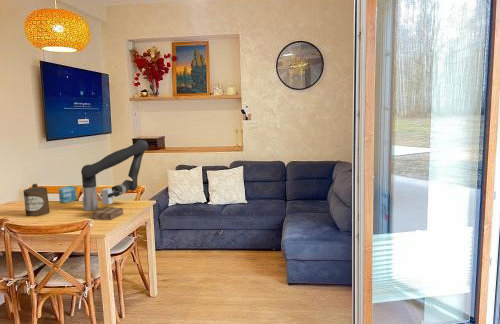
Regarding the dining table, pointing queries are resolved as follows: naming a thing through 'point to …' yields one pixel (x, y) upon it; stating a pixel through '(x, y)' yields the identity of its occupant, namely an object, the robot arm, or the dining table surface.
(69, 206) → the dining table surface
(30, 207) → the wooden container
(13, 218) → the dining table surface
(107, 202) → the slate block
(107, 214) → the walnut block
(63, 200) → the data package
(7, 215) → the dining table surface
